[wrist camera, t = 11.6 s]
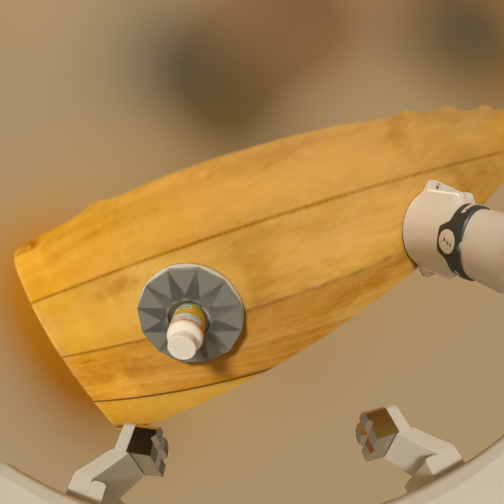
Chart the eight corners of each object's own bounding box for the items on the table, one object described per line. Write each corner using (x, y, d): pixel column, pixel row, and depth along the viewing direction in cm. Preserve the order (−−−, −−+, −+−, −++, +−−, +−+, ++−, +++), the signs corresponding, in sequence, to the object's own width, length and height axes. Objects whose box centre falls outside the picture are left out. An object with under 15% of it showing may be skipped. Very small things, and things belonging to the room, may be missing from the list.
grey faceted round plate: (241, 260, 43) (241, 264, 40) (246, 355, 47) (246, 362, 45) (132, 265, 42) (127, 269, 39) (150, 356, 46) (148, 363, 44)
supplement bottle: (196, 335, 44) (189, 370, 35) (169, 319, 43) (156, 351, 34) (212, 312, 44) (208, 345, 34) (184, 295, 43) (173, 324, 33)
